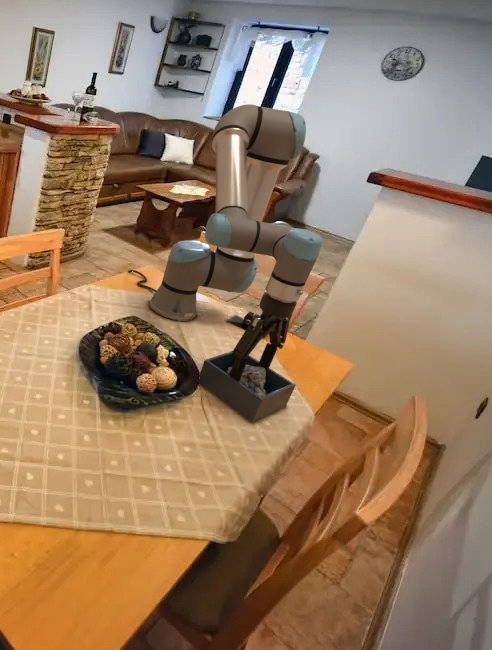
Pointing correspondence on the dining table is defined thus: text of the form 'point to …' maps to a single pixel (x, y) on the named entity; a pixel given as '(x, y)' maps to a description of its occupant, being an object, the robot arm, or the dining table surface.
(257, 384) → the mineral specimen
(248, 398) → the dark blue storage bin
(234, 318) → the build plate
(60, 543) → the dining table surface
